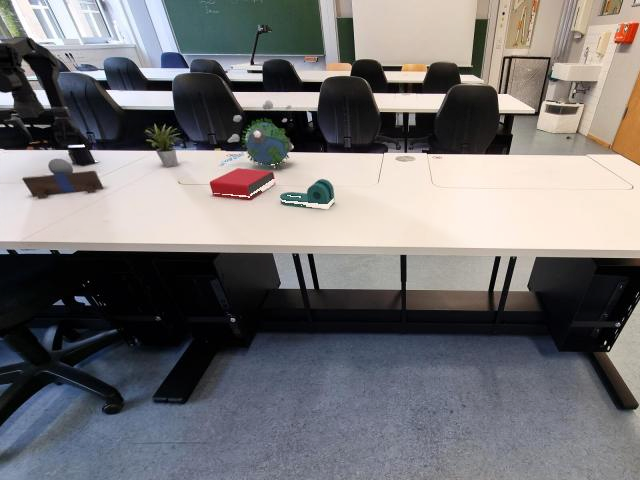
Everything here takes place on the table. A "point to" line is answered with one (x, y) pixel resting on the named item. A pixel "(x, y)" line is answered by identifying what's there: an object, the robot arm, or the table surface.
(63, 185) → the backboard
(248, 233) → the table surface
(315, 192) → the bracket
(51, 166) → the light bulb
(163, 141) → the house plant
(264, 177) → the red book
